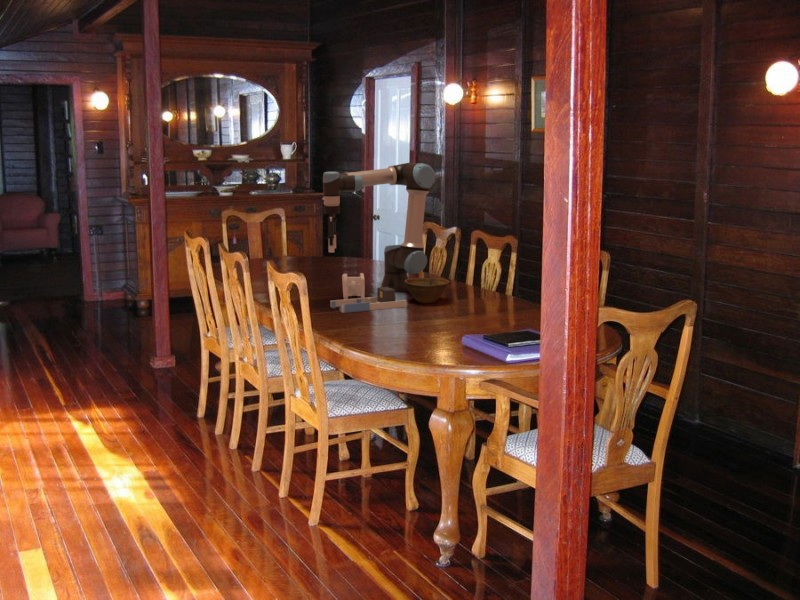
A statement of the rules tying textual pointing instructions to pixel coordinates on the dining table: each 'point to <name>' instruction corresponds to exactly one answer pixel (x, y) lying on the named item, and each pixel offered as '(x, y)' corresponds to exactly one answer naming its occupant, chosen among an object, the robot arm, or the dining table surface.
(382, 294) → the dark brown block
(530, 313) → the dining table surface
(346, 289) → the cable organizer
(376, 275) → the dining table surface
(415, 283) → the bowl
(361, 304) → the slotted rail
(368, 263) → the dining table surface
